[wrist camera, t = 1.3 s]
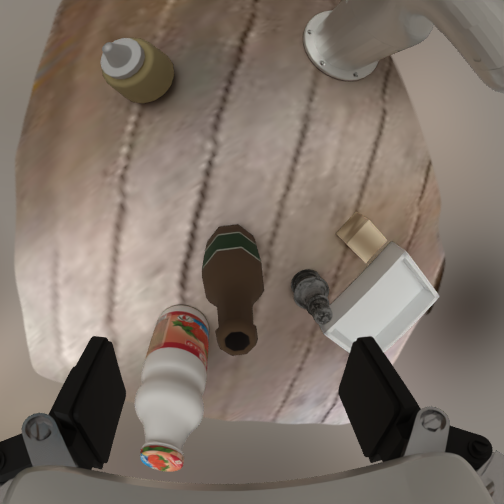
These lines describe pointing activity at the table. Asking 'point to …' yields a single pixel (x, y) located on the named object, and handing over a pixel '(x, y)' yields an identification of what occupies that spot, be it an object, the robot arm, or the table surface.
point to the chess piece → (312, 295)
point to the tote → (381, 301)
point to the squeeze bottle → (136, 69)
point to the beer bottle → (233, 286)
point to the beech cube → (361, 236)
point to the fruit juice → (172, 386)
